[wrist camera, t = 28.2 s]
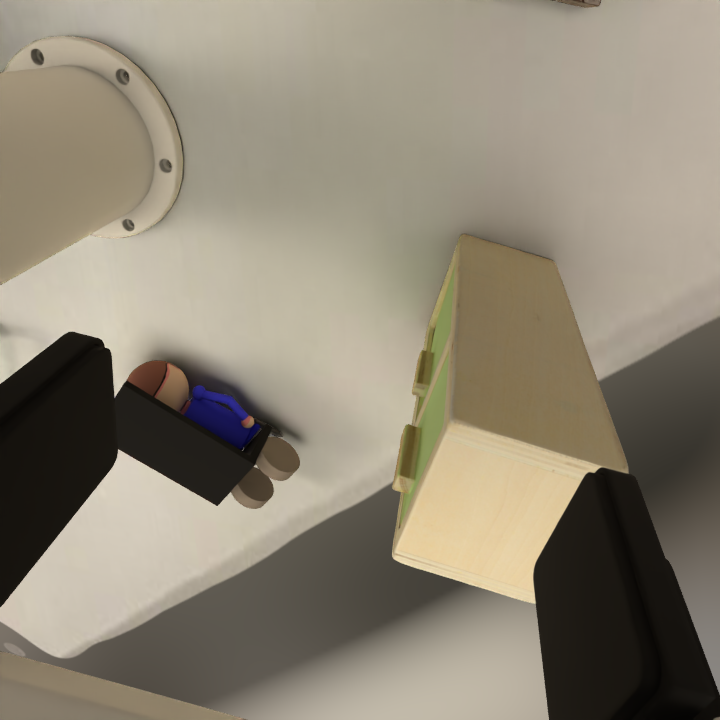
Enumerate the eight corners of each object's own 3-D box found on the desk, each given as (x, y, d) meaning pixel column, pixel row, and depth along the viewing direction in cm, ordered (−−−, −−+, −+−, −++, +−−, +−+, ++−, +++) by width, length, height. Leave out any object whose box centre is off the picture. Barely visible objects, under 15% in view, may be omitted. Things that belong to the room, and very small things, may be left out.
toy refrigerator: (450, 225, 37) (432, 416, 19) (557, 257, 37) (639, 479, 19) (414, 327, 41) (373, 559, 23) (510, 356, 41) (542, 611, 23)
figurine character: (313, 420, 49) (157, 331, 45) (299, 486, 43) (116, 389, 38) (275, 462, 52) (126, 383, 48) (257, 528, 46) (84, 444, 42)
